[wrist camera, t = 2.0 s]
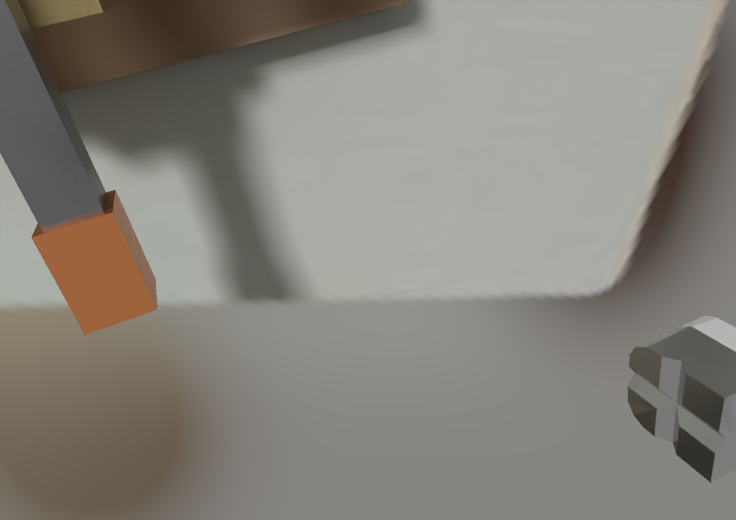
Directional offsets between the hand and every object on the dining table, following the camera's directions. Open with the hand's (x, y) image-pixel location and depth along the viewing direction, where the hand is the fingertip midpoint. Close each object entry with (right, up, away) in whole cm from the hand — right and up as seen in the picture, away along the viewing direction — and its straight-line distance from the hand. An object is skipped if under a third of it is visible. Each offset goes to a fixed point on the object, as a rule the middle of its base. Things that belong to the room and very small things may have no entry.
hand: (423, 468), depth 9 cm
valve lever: (-12, +9, +11) cm, 19 cm away
